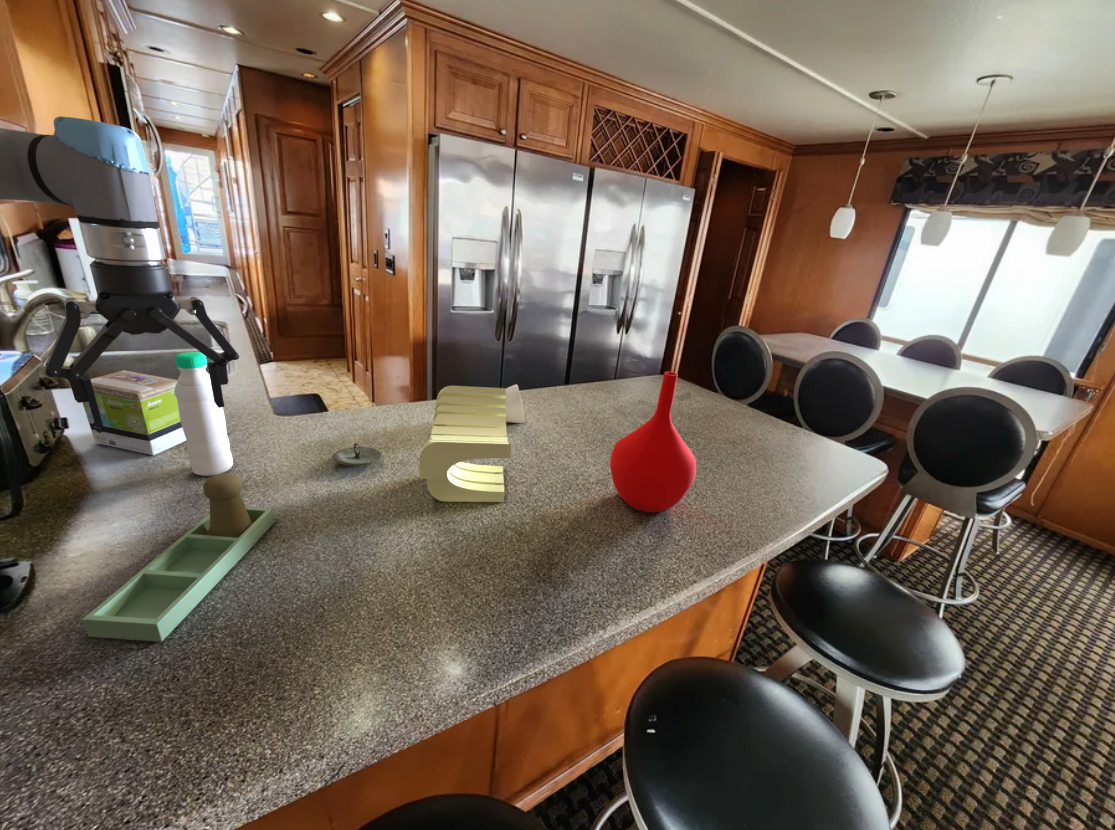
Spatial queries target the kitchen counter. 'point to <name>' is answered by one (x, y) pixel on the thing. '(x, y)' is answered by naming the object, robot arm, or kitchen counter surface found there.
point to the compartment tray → (173, 582)
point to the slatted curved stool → (466, 445)
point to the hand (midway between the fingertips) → (163, 413)
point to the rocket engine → (514, 405)
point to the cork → (226, 505)
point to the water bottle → (201, 417)
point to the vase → (654, 459)
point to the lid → (357, 456)
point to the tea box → (136, 412)
